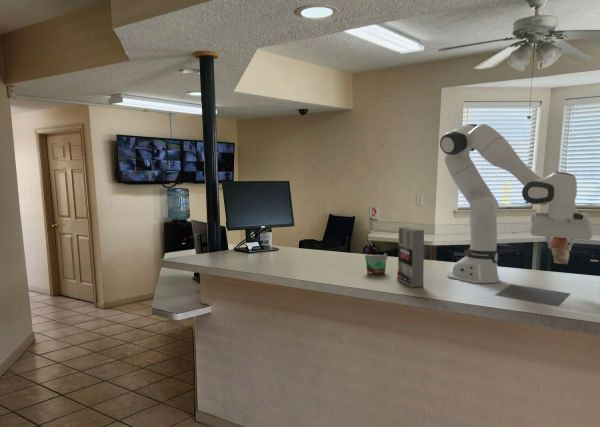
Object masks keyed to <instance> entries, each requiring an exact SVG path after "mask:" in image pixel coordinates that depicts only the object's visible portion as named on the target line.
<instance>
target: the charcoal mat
mask: <svg viewBox="0 0 600 427" xmlns="http://www.w3.org/2000/svg"><path fill="white" fill-rule="evenodd" d="M570 295H571V293H570V292H563V291H558V290H550V289H544V288H536V287H530V286H524V285H518V284H510V285H508V286H506V287H505V288H503V289H502V290H500V291H499V292H497V293H495V294H494V296H495V297H503V298H507V299H514V300H520V301H526V302H532V303H535V304H536V303H537V304H541V305H542V304H543V305H548V306H554V307H560V306H561V305H562V303H564V301H565V300H566V299H567V298H568V297H569V296H570Z"/></svg>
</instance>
